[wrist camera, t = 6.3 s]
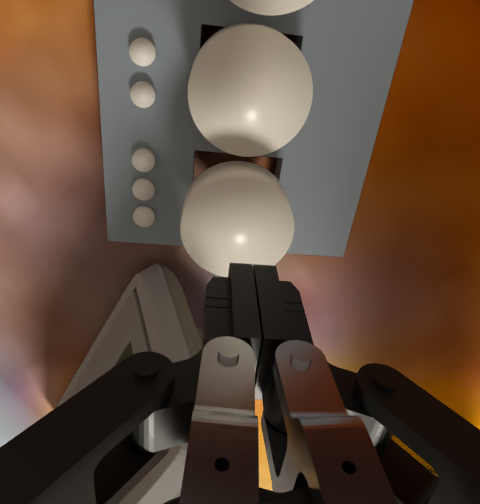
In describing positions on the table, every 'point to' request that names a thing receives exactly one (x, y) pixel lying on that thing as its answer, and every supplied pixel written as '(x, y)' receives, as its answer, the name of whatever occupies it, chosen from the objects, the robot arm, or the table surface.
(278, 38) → the button
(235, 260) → the button
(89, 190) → the table surface
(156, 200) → the button board
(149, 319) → the digital clock
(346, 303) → the table surface
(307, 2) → the button
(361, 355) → the table surface
